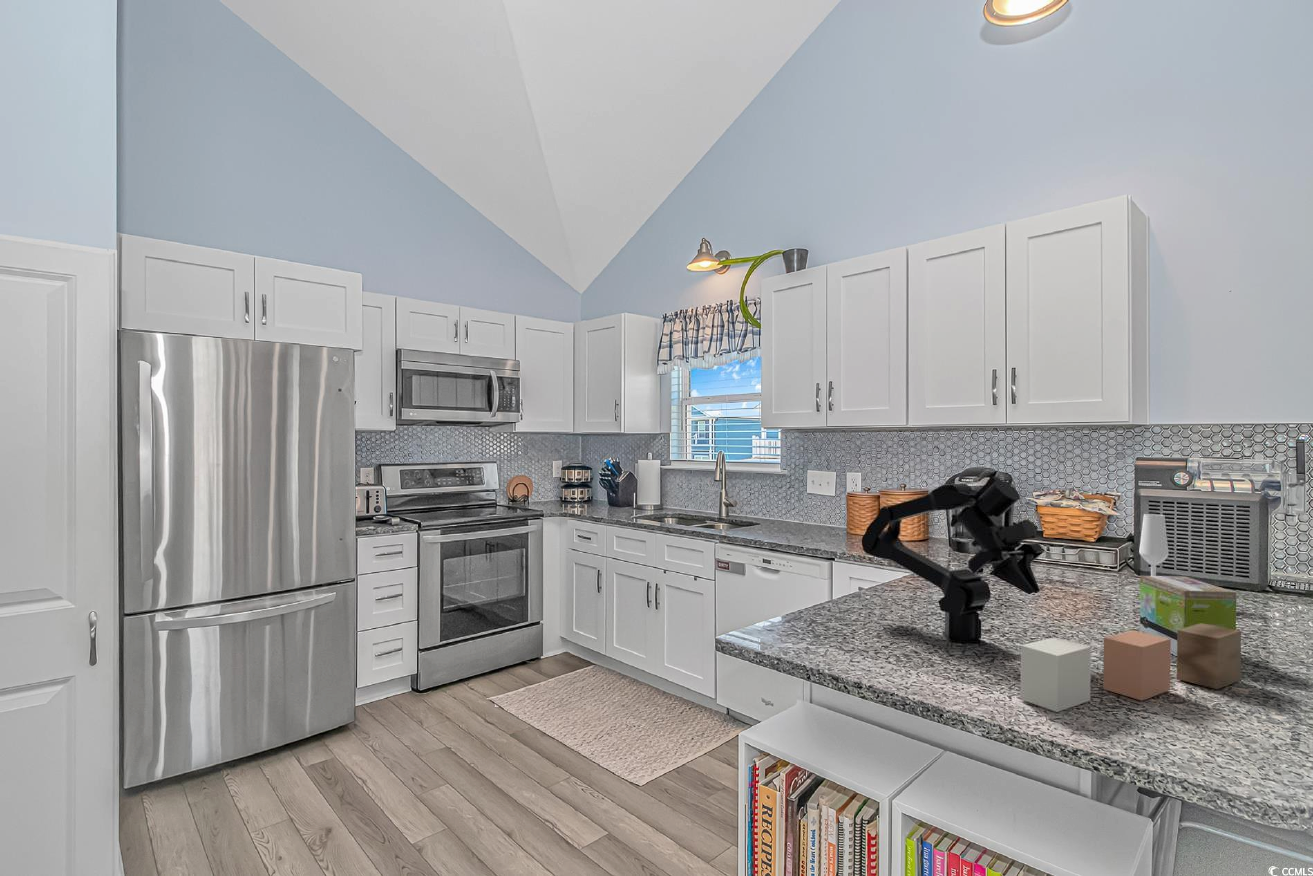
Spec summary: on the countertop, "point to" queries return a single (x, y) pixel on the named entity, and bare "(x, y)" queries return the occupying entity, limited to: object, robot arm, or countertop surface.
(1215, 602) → the tea box
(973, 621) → the robot arm
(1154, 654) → the terracotta block
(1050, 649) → the cream block
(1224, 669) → the walnut block
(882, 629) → the countertop surface
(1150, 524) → the champagne flute
